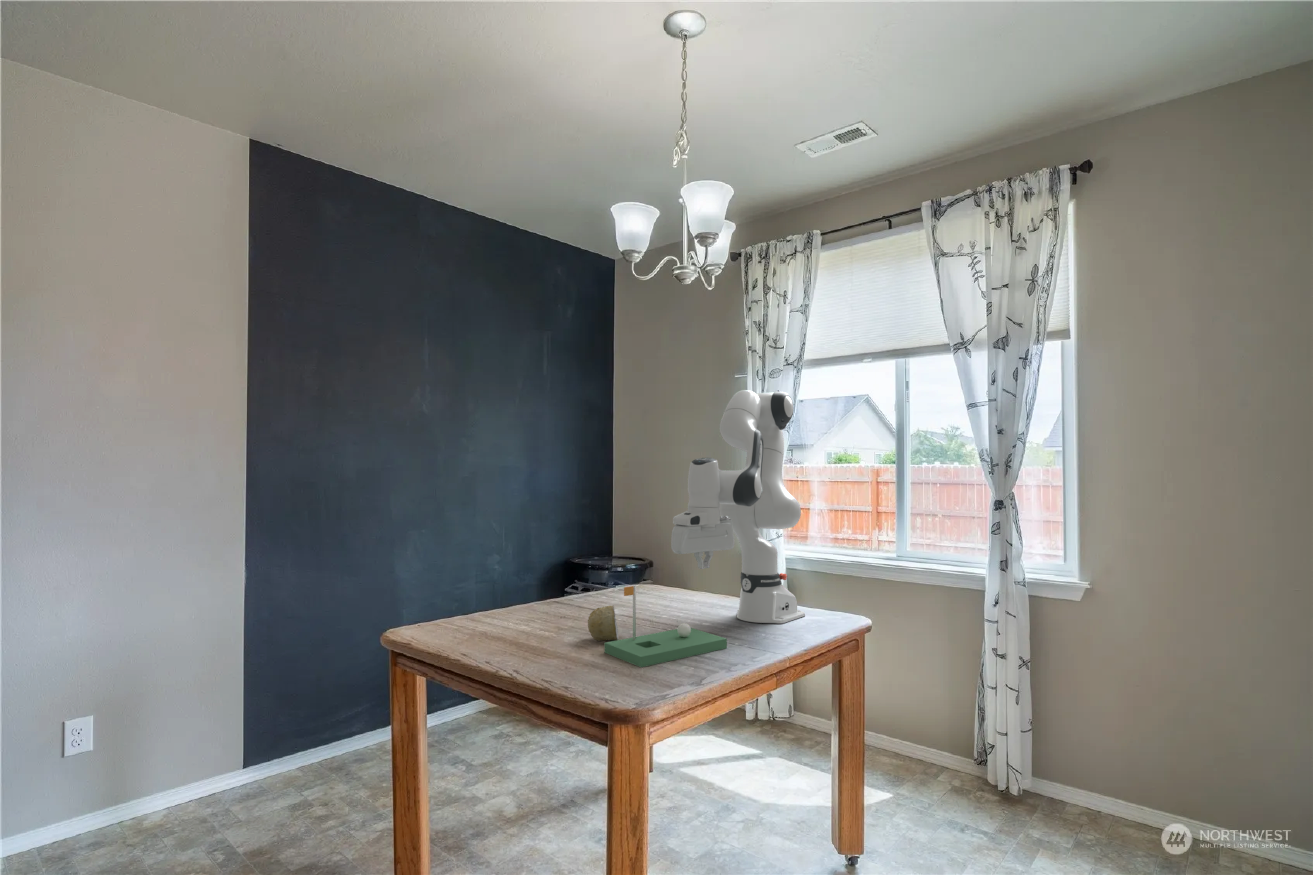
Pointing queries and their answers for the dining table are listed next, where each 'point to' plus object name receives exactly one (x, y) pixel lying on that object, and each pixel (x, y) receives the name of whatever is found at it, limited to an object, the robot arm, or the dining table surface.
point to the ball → (684, 630)
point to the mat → (661, 643)
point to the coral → (603, 624)
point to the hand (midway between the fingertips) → (703, 568)
